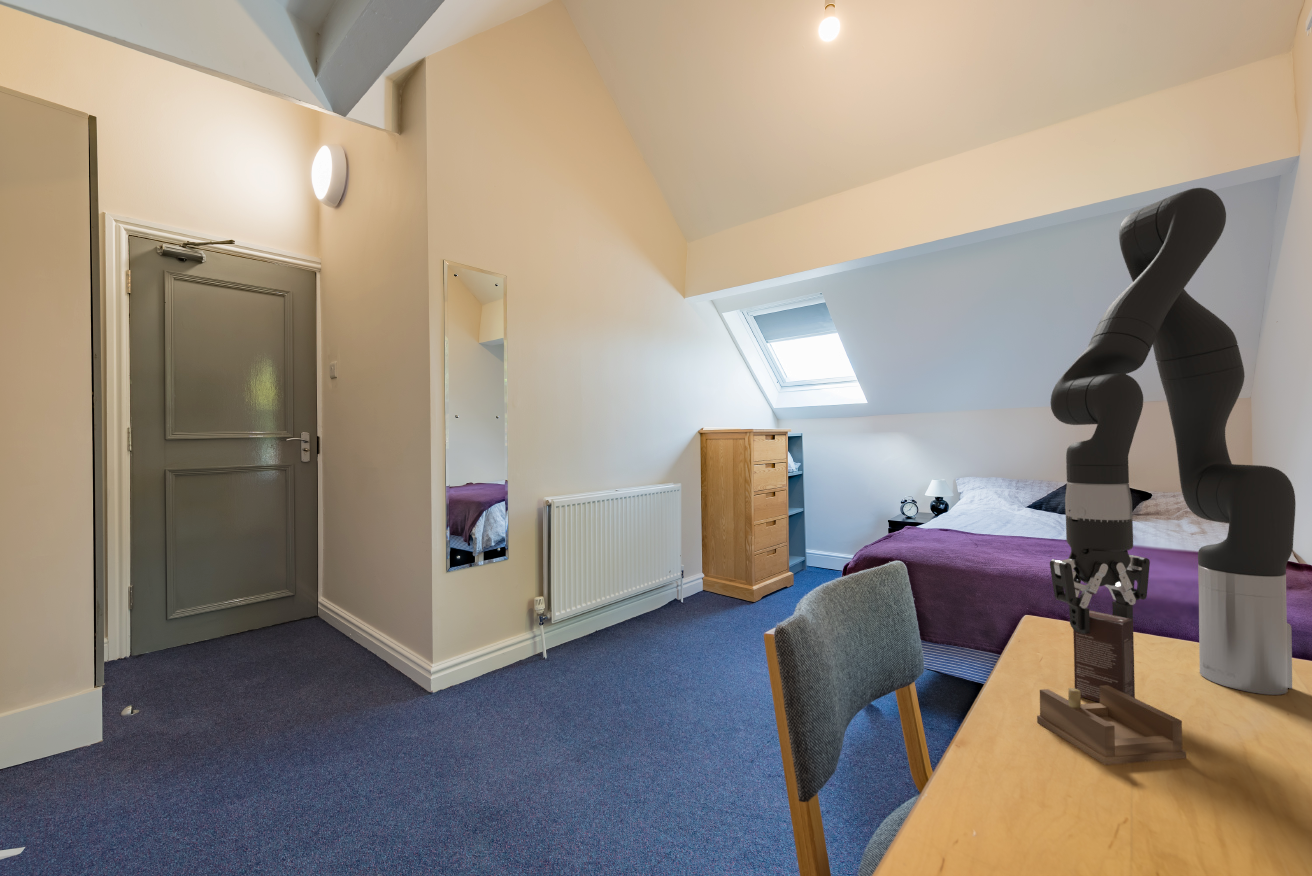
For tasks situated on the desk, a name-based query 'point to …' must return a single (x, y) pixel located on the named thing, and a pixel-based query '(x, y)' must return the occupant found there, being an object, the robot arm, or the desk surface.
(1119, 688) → the box
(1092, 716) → the drawer
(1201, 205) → the robot arm
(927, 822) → the desk surface
